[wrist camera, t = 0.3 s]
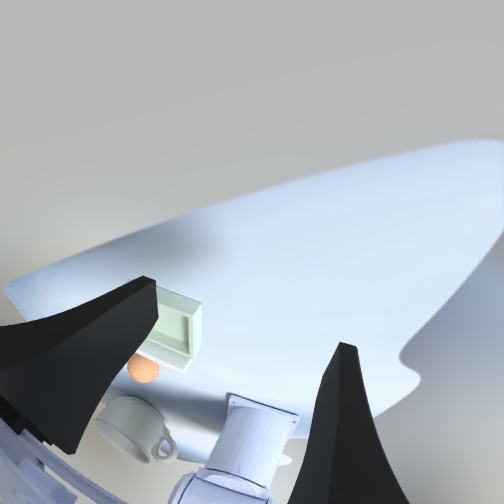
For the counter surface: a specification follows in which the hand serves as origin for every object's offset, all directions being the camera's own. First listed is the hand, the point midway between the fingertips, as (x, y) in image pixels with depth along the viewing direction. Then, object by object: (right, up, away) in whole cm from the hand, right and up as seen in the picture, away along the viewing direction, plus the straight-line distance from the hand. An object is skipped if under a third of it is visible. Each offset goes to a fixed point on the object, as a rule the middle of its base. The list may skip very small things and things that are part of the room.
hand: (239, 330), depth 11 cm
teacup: (-15, -22, +31) cm, 41 cm away
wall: (-8, -6, +19) cm, 21 cm away
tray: (-7, -3, +16) cm, 18 cm away
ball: (-12, -10, +20) cm, 26 cm away
